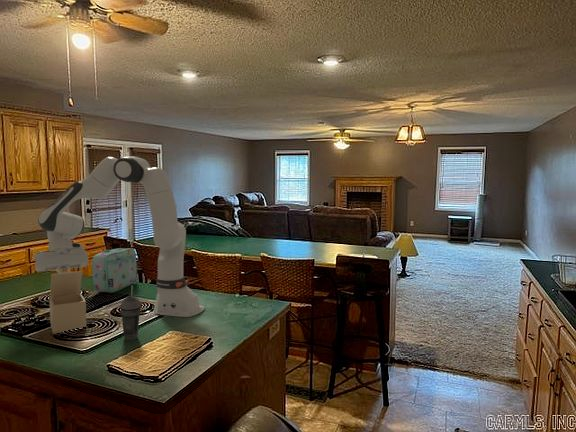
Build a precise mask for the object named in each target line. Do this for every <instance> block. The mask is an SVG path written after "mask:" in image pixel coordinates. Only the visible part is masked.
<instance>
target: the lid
mask: <svg viewBox="0 0 576 432" xmlns="http://www.w3.org/2000/svg"><path fill="white" fill-rule="evenodd" d="M83 271H84V270H77V271H69V272H65V273H58V272H57V273H56V272H55V273H51V276H50V279H51V280H50V291H49V292H50V297H56V296H64V295H72V294H80V293H81V288H82V279H83ZM50 297H49V298H50Z"/></svg>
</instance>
